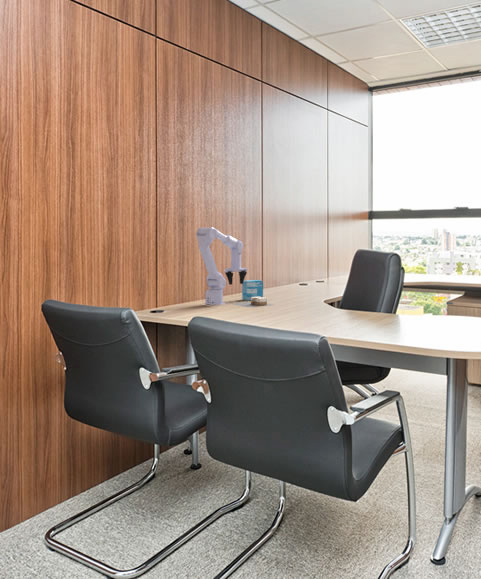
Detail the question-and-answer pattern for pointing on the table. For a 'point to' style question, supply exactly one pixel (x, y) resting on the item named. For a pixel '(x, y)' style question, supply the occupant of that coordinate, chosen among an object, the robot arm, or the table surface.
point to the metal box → (258, 301)
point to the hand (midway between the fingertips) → (236, 284)
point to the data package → (252, 289)
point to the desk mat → (249, 304)
